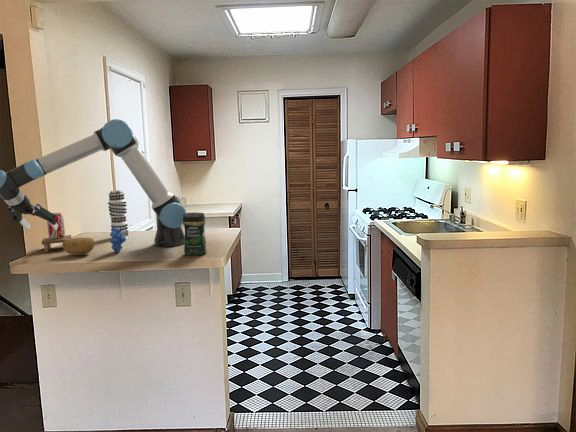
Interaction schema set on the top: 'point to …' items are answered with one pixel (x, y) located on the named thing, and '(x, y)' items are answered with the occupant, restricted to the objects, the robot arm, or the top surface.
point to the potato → (78, 245)
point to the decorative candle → (118, 212)
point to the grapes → (116, 239)
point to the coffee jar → (194, 233)
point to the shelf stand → (51, 241)
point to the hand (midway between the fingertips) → (43, 227)
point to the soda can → (60, 230)
